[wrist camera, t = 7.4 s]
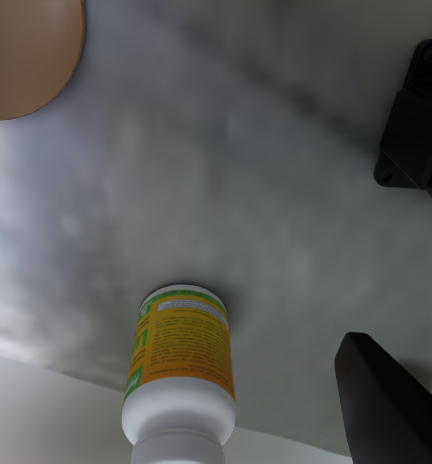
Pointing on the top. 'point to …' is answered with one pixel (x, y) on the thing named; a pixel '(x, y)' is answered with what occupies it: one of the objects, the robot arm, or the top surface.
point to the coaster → (37, 52)
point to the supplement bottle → (180, 379)
